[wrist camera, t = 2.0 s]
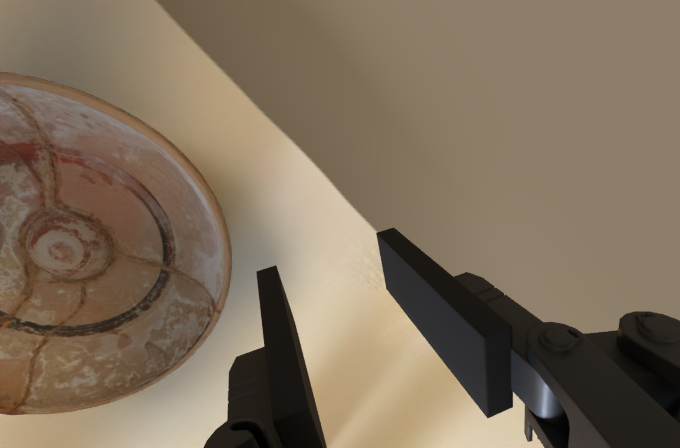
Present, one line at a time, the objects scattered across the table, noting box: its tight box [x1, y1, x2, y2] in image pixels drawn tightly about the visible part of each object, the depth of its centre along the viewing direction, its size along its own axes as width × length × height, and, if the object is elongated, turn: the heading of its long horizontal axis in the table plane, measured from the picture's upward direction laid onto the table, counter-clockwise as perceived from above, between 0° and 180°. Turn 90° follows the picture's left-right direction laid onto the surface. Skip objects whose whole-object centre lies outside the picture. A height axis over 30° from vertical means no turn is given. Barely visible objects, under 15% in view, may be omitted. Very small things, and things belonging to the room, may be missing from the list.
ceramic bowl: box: [0, 72, 232, 415], centre depth 23 cm, size 23×24×5 cm
